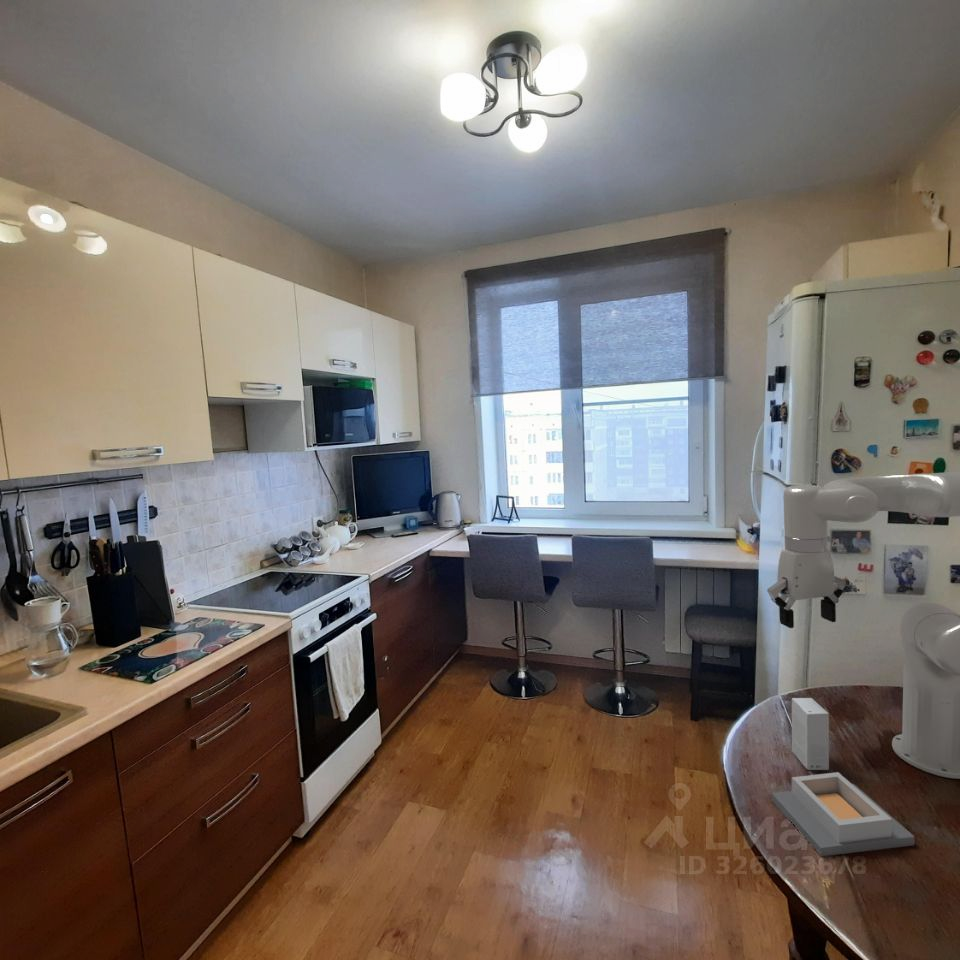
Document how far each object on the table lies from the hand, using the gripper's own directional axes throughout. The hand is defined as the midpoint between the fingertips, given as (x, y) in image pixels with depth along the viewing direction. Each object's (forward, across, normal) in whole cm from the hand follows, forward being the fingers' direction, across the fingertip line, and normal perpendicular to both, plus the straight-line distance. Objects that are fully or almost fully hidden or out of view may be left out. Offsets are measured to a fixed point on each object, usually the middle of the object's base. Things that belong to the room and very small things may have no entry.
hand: (807, 622), depth 104 cm
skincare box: (+27, +5, +6) cm, 28 cm away
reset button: (+26, +12, +20) cm, 35 cm away
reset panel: (+27, +12, +20) cm, 35 cm away
